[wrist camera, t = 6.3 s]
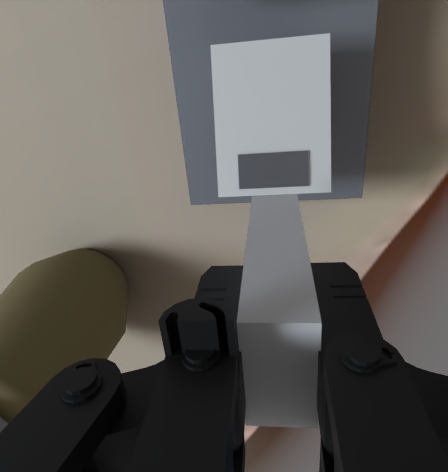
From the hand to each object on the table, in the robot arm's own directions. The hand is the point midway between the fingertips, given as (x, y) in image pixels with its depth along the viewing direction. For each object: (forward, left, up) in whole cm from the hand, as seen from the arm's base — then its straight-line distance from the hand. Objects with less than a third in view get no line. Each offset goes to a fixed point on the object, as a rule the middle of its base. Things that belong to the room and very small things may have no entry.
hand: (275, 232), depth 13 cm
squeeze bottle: (+9, -14, -11) cm, 20 cm away
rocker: (-3, 0, -5) cm, 6 cm away
